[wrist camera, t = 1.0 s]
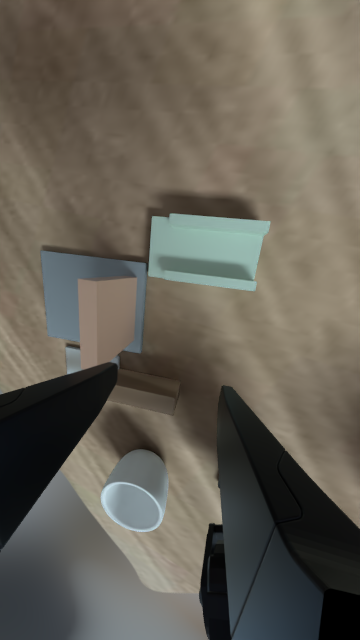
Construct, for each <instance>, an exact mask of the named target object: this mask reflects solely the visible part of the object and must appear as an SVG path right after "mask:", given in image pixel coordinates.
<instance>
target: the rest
mask: <svg viewBox="0 0 360 640" xmlns="http://www.w3.org/2000/svg"><path fill="white" fill-rule="evenodd" d="M270 222H271V221H259V220H246V219H234V218H221V217H209V216H197V215H184V214H172V213H170V217H158V216H152V225H151V240H150V255H149V271H148V276H151V277H159V278H164V279H165V280H173V281H180V282H188V283H195V284H203V285H211V286H218V287H226V288H234V289H241V290H249V291H255V288H256V284H257V282H256V281H254V277H255V272H256V268H257V263H258V259H259V254H260V250H261V245H262V241H263V236H264V235H265V234H267V233H268V231H269V226H270Z"/></svg>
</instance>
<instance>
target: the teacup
mask: <svg viewBox="0 0 360 640" xmlns="http://www.w3.org/2000/svg"><path fill="white" fill-rule="evenodd" d="M167 494H168V473H167V469H166V467H165V464H164V462H163V461H162V460H161V458H160V457H159V456H157V455H156V454H155V453H153V452H151V451H149V450H144V449H138V450H133V451H131V452H129V453H127V454H126V455H125V456H124V457H123V458H122V459H121V460H120V461H119V462H118V463H117V465H116V466H115V468H114V469H113V471H112V473H111V474H110V476H109V478H108V479H107V481H106V483H105V485H104V487H103V490H102V493H101V503H102V506H103V508H104V510H105V511H106V513H107V514H108V515H109V517H110V518H111V519H113V520H114V521H115V522H116V523H118V524H119V525H121V526H123V527H125V528H127V529H130V530H133V531H138V532H148V531H152V530H154V529H156V528H157V527H158V526H159V525H160V523H161V521H162V519H163V516H164V512H165V507H166V501H167Z"/></svg>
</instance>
